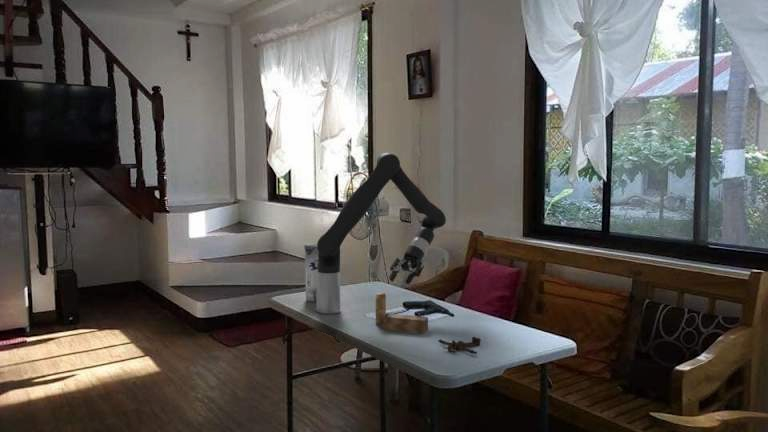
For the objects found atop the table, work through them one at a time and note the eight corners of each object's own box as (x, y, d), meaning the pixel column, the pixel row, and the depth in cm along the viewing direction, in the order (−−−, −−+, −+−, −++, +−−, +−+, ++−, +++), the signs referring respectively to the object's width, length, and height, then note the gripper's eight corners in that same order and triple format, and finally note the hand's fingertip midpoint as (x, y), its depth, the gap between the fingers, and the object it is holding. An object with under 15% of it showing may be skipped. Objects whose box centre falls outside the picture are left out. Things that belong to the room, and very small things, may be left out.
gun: (423, 322, 247) (455, 318, 253) (423, 316, 247) (456, 311, 253) (398, 307, 269) (428, 303, 275) (398, 301, 268) (428, 297, 275)
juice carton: (302, 300, 281) (301, 242, 279) (319, 296, 289) (318, 239, 287) (316, 303, 276) (315, 243, 273) (332, 299, 283) (332, 241, 281)
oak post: (374, 324, 240) (373, 294, 239) (378, 322, 244) (377, 292, 242) (383, 325, 238) (383, 295, 237) (387, 323, 242) (387, 293, 241)
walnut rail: (383, 329, 233) (383, 316, 233) (388, 326, 238) (388, 313, 238) (423, 333, 227) (423, 320, 227) (427, 330, 232) (427, 317, 231)
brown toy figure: (497, 342, 207) (467, 346, 198) (496, 355, 207) (466, 360, 198) (459, 331, 221) (429, 334, 212) (458, 343, 221) (428, 346, 212)
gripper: (399, 243, 257) (381, 274, 250) (426, 246, 248) (407, 278, 240) (408, 254, 262) (390, 284, 254) (434, 257, 252) (416, 289, 245)
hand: (398, 281), depth 247 cm, fingers open, 8 cm apart
